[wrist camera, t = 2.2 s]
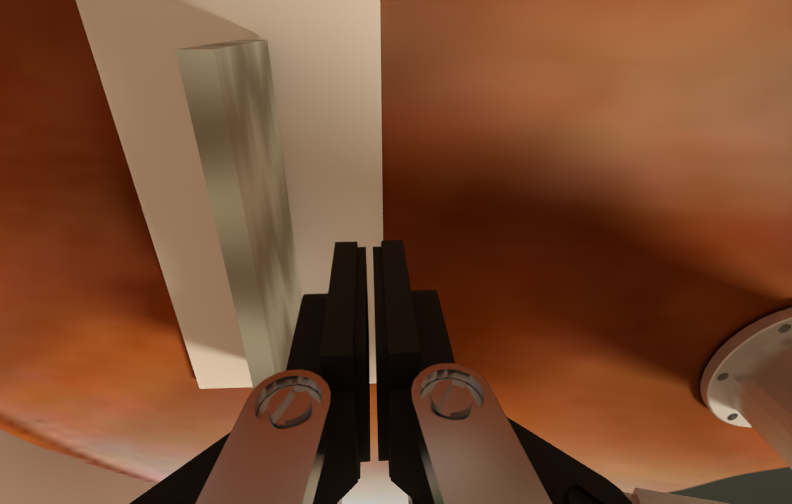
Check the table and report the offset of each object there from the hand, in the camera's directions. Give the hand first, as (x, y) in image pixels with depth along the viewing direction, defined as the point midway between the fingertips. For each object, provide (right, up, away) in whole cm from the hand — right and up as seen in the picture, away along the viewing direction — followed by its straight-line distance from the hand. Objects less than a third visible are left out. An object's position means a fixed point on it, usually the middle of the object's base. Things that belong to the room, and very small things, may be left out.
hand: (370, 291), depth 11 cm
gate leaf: (-6, +3, +14) cm, 15 cm away
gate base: (-7, +3, +15) cm, 17 cm away
